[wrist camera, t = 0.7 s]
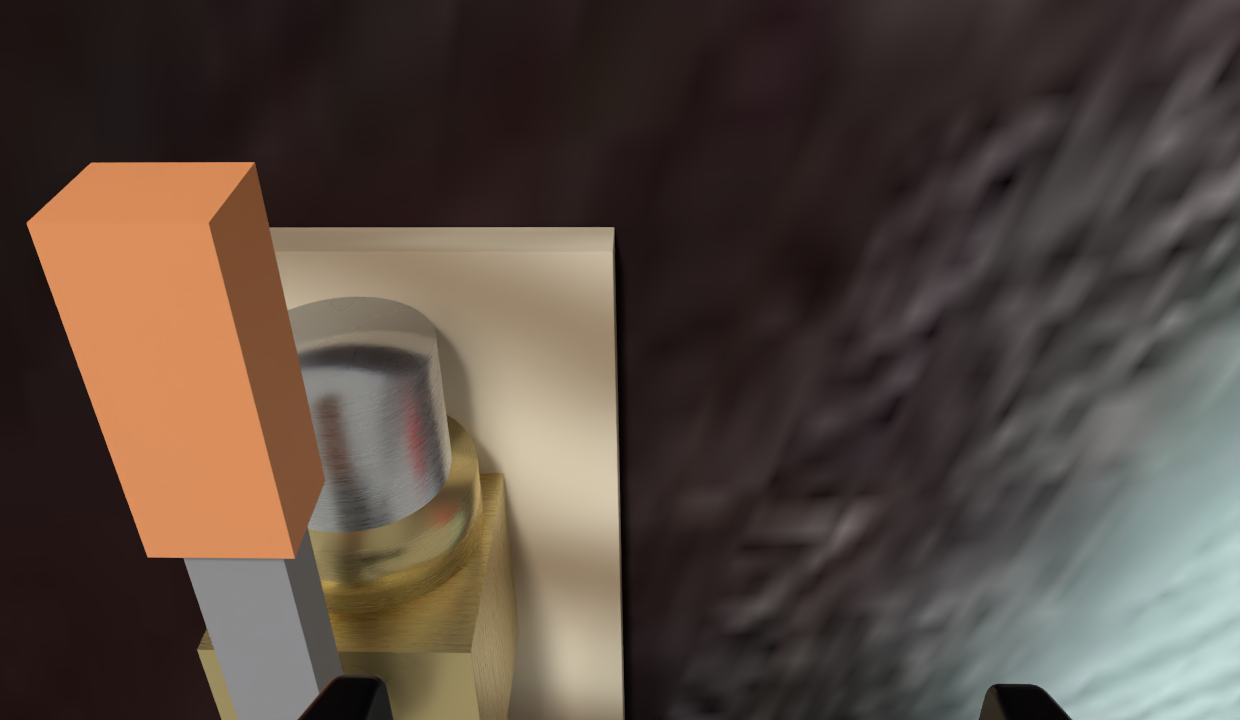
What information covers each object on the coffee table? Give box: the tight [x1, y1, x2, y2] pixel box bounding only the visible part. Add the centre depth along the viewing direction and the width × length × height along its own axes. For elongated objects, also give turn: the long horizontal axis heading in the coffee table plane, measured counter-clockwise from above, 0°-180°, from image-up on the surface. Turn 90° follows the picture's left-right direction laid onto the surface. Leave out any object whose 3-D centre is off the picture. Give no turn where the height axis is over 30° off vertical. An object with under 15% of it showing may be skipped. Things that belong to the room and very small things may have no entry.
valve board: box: [269, 227, 625, 720], centre depth 25 cm, size 16×10×1 cm, turn 1°
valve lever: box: [27, 162, 343, 720], centre depth 16 cm, size 14×3×2 cm, turn 1°
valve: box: [197, 297, 519, 720], centre depth 23 cm, size 14×5×6 cm, turn 1°
